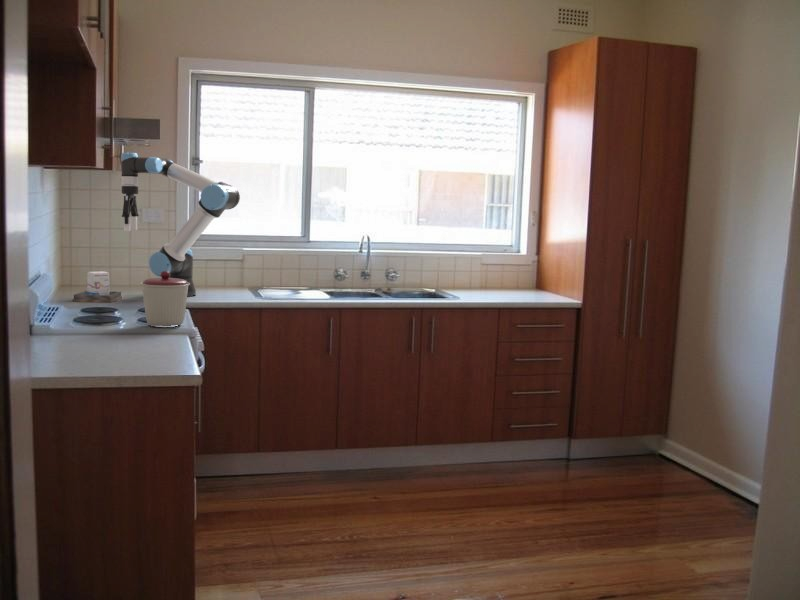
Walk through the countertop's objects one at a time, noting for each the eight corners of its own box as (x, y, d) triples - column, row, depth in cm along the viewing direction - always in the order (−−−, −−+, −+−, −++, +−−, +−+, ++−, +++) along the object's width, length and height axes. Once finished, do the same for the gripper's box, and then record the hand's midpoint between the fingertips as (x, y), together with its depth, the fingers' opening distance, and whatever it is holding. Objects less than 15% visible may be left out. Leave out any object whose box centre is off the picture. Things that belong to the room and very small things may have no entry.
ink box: (92, 298, 377) (92, 272, 376) (86, 297, 380) (86, 271, 379) (109, 297, 383) (109, 271, 382) (104, 296, 387) (104, 271, 385)
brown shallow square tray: (122, 297, 391) (122, 291, 391) (111, 302, 374) (111, 295, 374) (85, 296, 390) (85, 290, 390) (72, 301, 373) (72, 294, 373)
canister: (197, 324, 323) (197, 270, 320) (176, 331, 305) (177, 274, 303) (154, 321, 326) (154, 267, 324) (131, 328, 309) (131, 271, 306)
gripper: (128, 185, 406) (128, 229, 409) (115, 185, 381) (115, 231, 384) (143, 186, 407) (144, 229, 409) (131, 185, 382) (132, 231, 385)
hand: (130, 230), depth 397 cm, fingers open, 13 cm apart
